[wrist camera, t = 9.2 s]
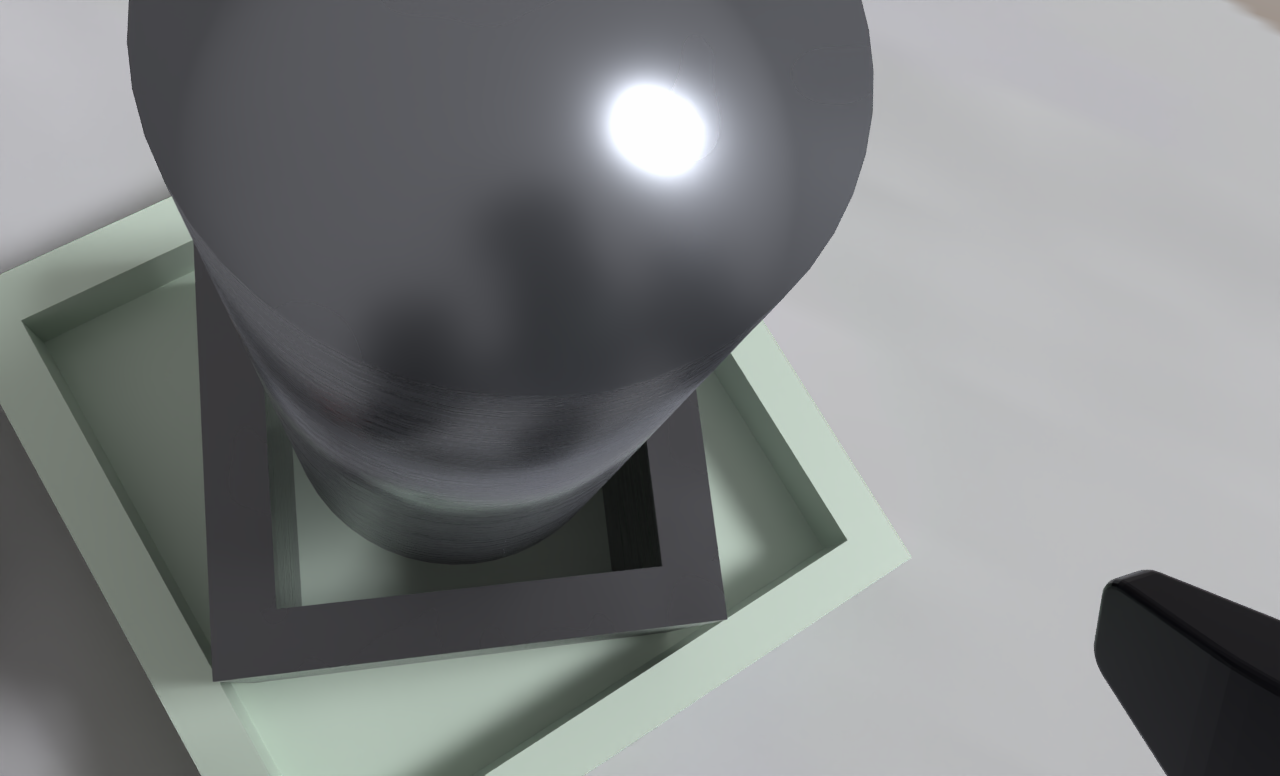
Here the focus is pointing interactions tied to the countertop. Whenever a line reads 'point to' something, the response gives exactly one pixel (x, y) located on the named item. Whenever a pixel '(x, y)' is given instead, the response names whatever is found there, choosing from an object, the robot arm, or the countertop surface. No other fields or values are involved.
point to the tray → (358, 569)
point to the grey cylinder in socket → (483, 288)
